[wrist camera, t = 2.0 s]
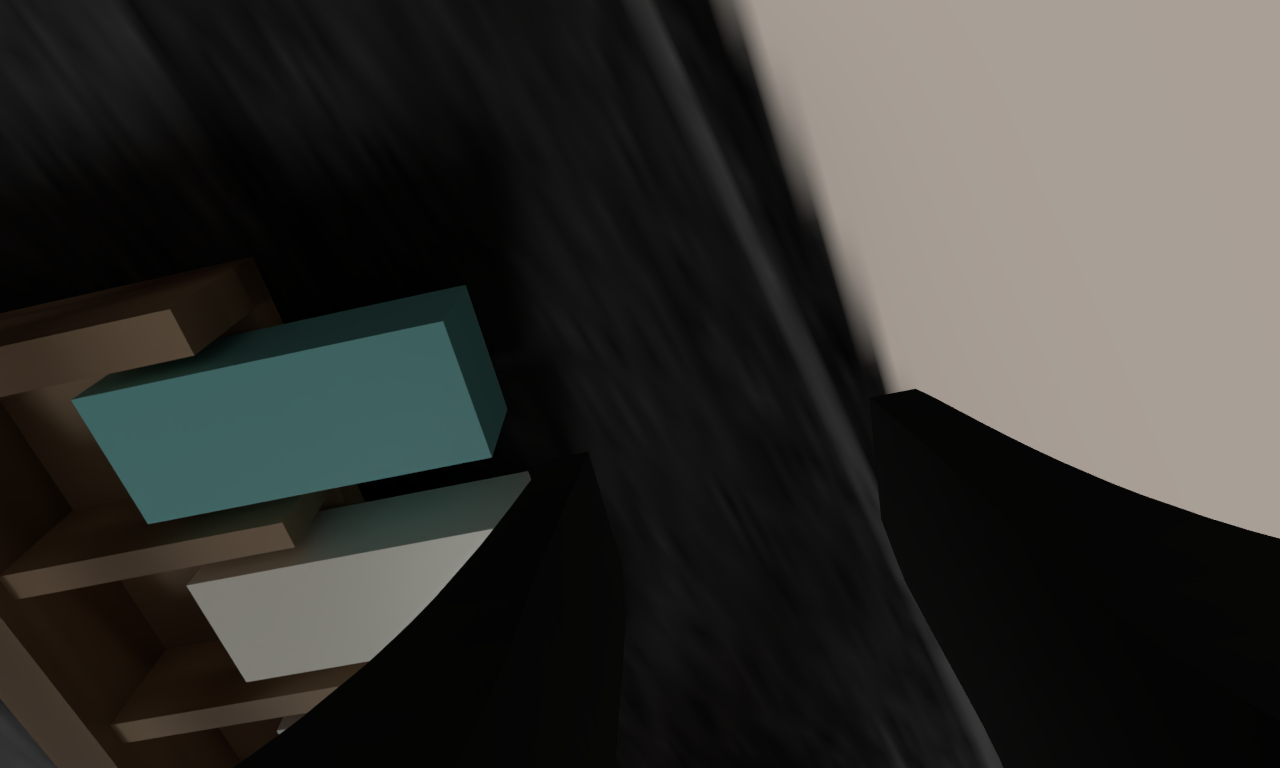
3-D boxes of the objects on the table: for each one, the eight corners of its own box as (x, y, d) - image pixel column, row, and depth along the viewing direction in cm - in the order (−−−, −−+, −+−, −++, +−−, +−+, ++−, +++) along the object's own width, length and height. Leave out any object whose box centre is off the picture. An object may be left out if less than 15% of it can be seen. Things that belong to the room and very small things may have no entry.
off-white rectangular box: (528, 471, 19) (516, 524, 17) (561, 569, 20) (553, 629, 18) (231, 527, 20) (186, 585, 18) (282, 619, 21) (246, 682, 19)
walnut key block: (252, 256, 18) (155, 319, 14) (466, 723, 25) (438, 844, 21) (-72, 329, 18) (-243, 406, 15) (224, 762, 25) (156, 886, 22)
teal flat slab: (465, 284, 17) (443, 321, 15) (507, 408, 18) (491, 457, 16) (134, 356, 17) (70, 400, 15) (198, 470, 19) (147, 524, 17)
